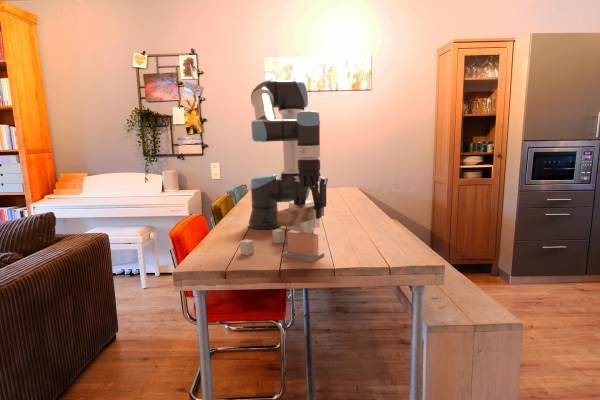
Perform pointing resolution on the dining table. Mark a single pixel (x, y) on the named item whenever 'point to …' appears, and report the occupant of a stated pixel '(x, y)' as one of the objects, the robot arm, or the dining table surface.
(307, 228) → the supplement tub
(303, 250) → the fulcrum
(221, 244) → the dining table surface
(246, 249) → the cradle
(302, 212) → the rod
